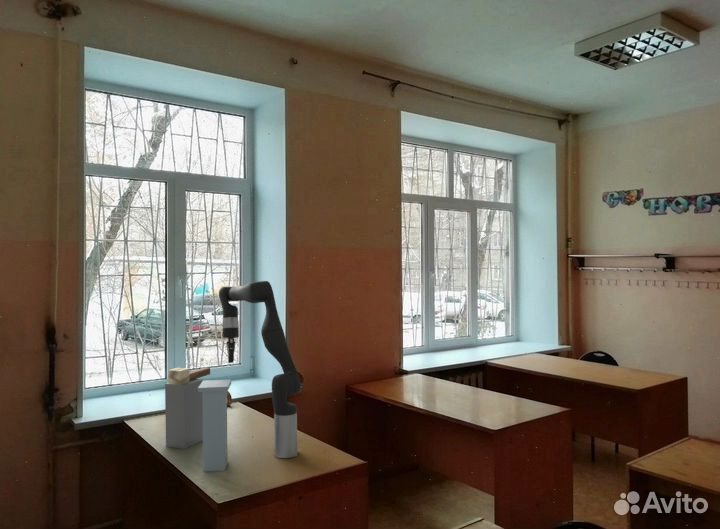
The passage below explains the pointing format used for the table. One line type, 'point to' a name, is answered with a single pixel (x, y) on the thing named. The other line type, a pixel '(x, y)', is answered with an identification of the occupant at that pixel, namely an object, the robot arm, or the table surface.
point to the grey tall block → (183, 414)
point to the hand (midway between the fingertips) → (231, 362)
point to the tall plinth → (214, 424)
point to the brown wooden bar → (186, 375)
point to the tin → (229, 398)
